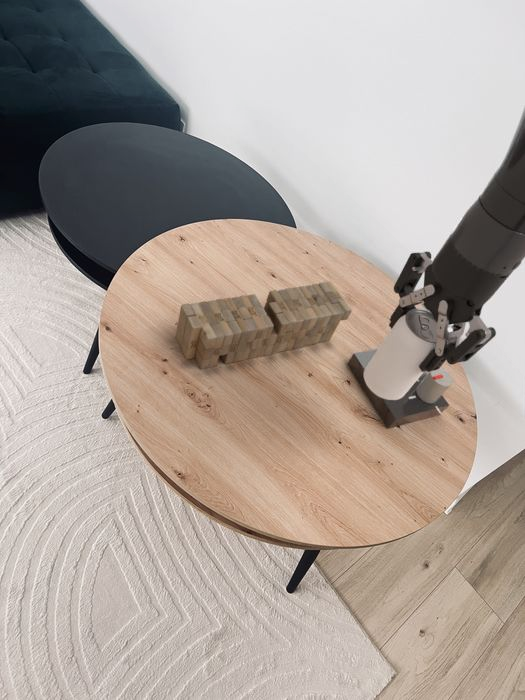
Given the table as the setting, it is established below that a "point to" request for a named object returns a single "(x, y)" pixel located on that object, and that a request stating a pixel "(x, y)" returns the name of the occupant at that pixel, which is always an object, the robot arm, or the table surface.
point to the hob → (396, 410)
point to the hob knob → (434, 385)
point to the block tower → (259, 323)
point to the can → (401, 355)
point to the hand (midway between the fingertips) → (410, 347)
